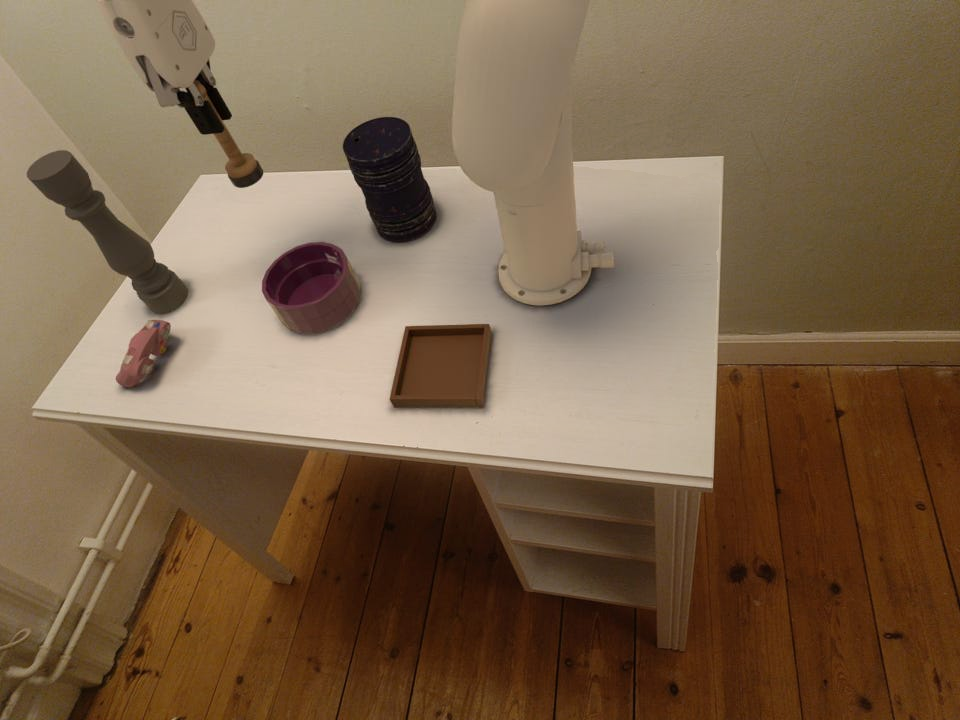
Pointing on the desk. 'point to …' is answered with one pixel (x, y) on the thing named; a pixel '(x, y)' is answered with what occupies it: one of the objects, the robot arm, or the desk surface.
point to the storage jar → (391, 178)
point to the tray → (442, 367)
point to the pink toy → (143, 352)
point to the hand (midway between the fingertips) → (216, 124)
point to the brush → (234, 154)
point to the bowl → (311, 287)
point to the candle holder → (107, 230)
